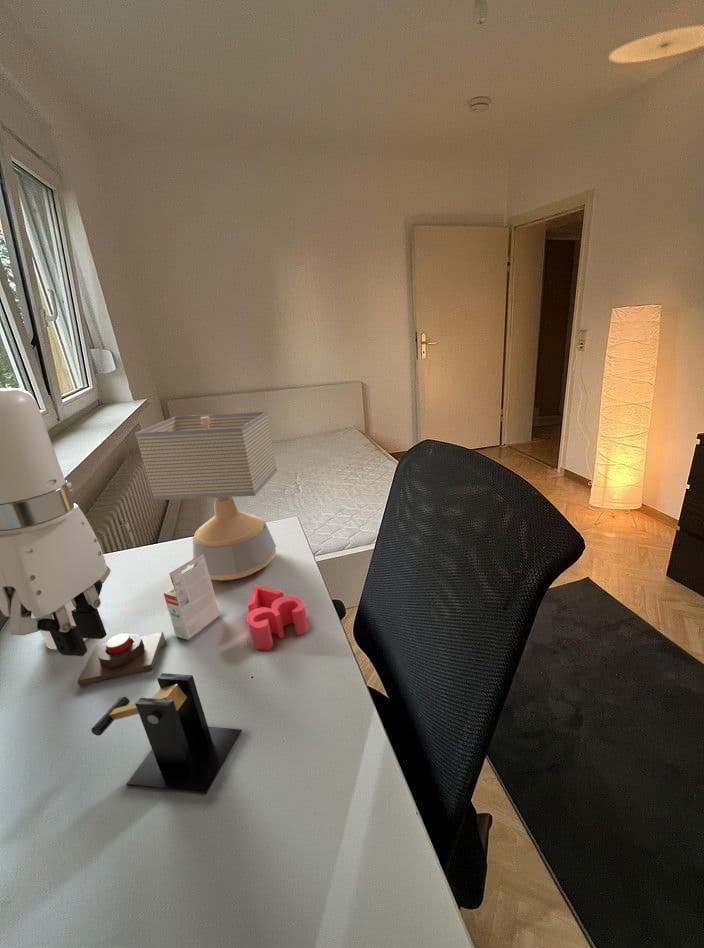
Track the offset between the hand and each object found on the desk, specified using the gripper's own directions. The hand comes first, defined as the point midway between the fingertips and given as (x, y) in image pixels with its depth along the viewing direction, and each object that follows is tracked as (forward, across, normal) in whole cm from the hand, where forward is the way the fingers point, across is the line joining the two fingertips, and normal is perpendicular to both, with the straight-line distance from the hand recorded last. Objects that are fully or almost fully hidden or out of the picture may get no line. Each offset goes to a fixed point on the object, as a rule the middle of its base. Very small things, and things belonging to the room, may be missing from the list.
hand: (84, 644), depth 54 cm
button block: (+19, -16, -14) cm, 28 cm away
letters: (+19, -29, +8) cm, 36 cm away
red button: (+16, -16, -14) cm, 26 cm away
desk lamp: (+19, -50, -10) cm, 54 cm away
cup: (+19, -23, -31) cm, 43 cm away
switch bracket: (+19, 0, +9) cm, 21 cm away
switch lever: (+11, 0, +5) cm, 12 cm away
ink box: (+19, -27, -6) cm, 34 cm away
